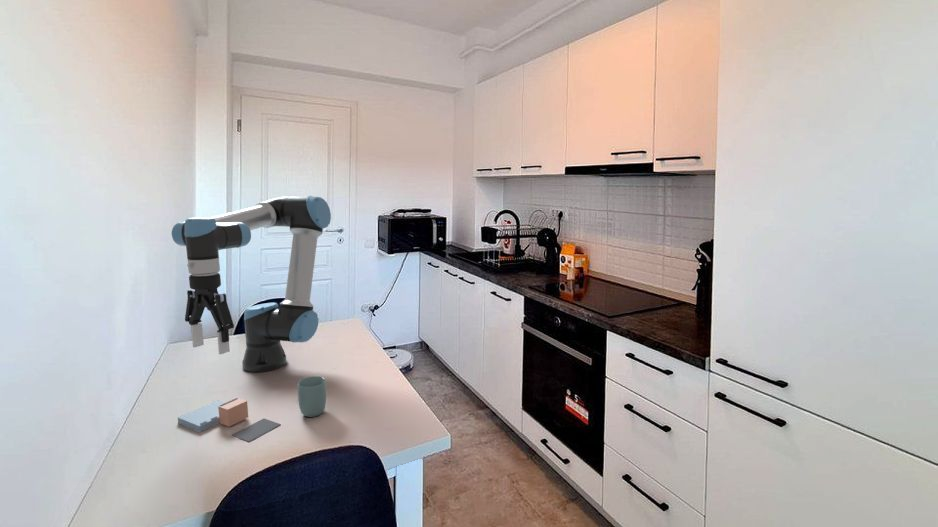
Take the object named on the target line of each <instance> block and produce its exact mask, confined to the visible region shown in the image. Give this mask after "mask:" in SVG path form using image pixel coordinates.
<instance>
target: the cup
mask: <svg viewBox="0 0 938 527" xmlns="http://www.w3.org/2000/svg"><path fill="white" fill-rule="evenodd" d="M326 382H327V381H326V378H325V377H323V376H318V375H317V376H316V375H315V376H308V377H304V378H301V379H300V380H298V382H297V388H296V389H297V399H298V400H297V402H298V406H299V407H298V408H299V410H300V413H301V414H302V415H303V416H304V417H307V418H309V417H310V418H313V417H318V416H319V415H321V414H322V413H323V412H324V410H326V409H325V408H326V406H327V383H326Z"/></svg>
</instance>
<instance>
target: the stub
mask: <svg viewBox="0 0 938 527" xmlns="http://www.w3.org/2000/svg"><path fill="white" fill-rule="evenodd" d="M248 408H249V407H248V401H247V400H246V399H244V398H243V399H242V398H240V397H236V398H234V399H232V400H228V401H226V402H225V403H224V404H222V405H220V406H218V409H219V421H220V423H219V424H221V425H224V426H226V427H231V426H233V425H235V424H237V423H239V422H241V421H244V420H246V419H248V418H249V409H248Z"/></svg>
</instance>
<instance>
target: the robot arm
mask: <svg viewBox="0 0 938 527" xmlns="http://www.w3.org/2000/svg"><path fill="white" fill-rule="evenodd" d="M331 214H332V213H331V208H330V207H329V205H328V202H327V201H326V200H325V199H324V198H322V197H320V196H313V195H308V196H297V195H295V196H292V195H287V196H286V195H285V196H280V197H276V198H272V199H268V200H265V201H260V202H258V203H256V205H255V206H252V207H248V208H243V209H240V210H236V211H233V212H227V213H223V214H219V215H214V216H211V217H189V218H186V219H185V221H180V222H176V224H174V225H173V227H172V230H171V238H172V241H173V242H174V243H175V244H176V245H178V246H181V247H185V249H186V257H187V267H188V273H189V274H190V275H189V276H188V280H189V281H188V282H189V288H190V289H189V290H186V291H187V295H186V296H187V301H186V307H185V313H184V314H185V315H184V321H185V322H186V323H187V322H188V324H189V325H190V331H191V339H192V340H191V341H192V347H193V348H194V349H195V348H197V347H201V346H204V345H205V344H204V336H203V335H204V333H203V324H202V322H203V321H202V316H203V314H204V311H205V308H206V309H207V311H209V312H210V314H211V316H212V319H213V320H214V322H215V324H216V326H217V331H216V335H217V348H218V355H224V354H226V353H230V333H229V332H230V331H229V330H231V329H234V327H235V324H234V322H233V318H232V315H231V311H230V308H229V304H228V302H227V301H228V300H227V294H226V293H225V292H224V293H219V290H218V288H220V287H221V286H222V282H221V280H222V279H221V273H219V272H220V271H221V266H220V264H221V263H220V256H219V251H221V250H227V249H234V248H237V249H239V248H241V247H245V246H247V245H249V243H250V242H251V239H252V232H251V231H253V230H257V229H259V228H264V229H268V228H273V227H285V228H287V227H289V231H290V232H291V234H292V241H291V242H292V243H291V248H290V249H291V251H290V256H289V265H288V273H287V280H286V281H287V282H286V287H285V288H286V290H285V294H284V295H285V298H284V299H283V300H282V301H281V302H279V304H278V303H277V302H266V303H260V304H255V305H251V306H249V307H247V308H245V309H244V312H243V315H244V316H243V323H244V324H243V326H244V333H245V335H244V336H245V347H246V348H245V351H244V355H243V359H242V362H241V363H242V369H243V370H244V371H246V372H252V373H262V372H264V373H265V372H269V371H274V370H277V369H280V368H281V367H283V366H285V365H286V364H287V355H286V353H285V350H284V348H283V346H282V345H283V344H281V342H291V343H306V342H308V341H310V340H311V339H312V338H313V337H314V336H315V334H316V333H317V330H318V326H319V317H318V314H317V312H316V311H314V304H312V303H311V295H312V294H311V293H312V285H313V278H314V270H315V260H316V252H317V244H318V238H319V237H320V236H322V235H323V230H324V229H326V228H328V227H329V225H330V224H331V219H332V215H331Z"/></svg>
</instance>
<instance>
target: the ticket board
mask: <svg viewBox="0 0 938 527" xmlns="http://www.w3.org/2000/svg"><path fill="white" fill-rule="evenodd" d="M224 403H226V402H224V401H221V400H216V401H212V402H211V403H209V404H206V405H204V406H201V407H199V408H197V409H194V410H192V411H189V412H188V413H184V414H183V415H182V414H181V415H180V416H178V417H177V424H179V425H182V426H184V427H186V428H188V429H191V430H194V431H196V432H197V433H198V432H199V433H201V432H204V431H205V430H208V429H209V428H212V427H214V426H216V425H218V424H221V423H220V421H219V409H218V406H220V405H222V404H224Z"/></svg>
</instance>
